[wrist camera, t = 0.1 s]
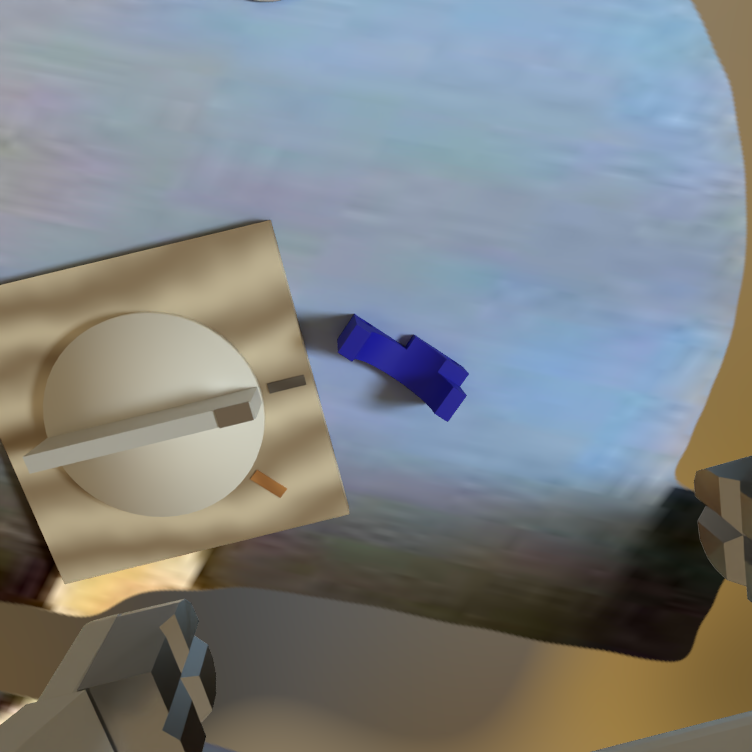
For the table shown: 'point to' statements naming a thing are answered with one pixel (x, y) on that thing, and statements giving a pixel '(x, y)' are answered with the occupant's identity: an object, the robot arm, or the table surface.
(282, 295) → the dial board
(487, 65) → the table surface
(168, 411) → the dial
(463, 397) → the blue notched block
